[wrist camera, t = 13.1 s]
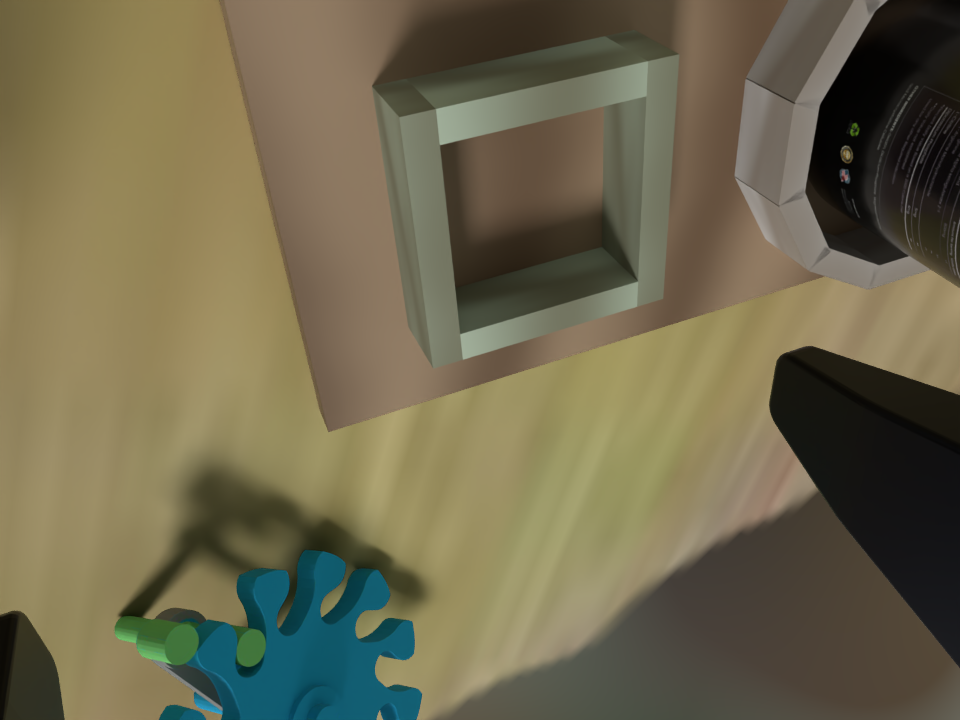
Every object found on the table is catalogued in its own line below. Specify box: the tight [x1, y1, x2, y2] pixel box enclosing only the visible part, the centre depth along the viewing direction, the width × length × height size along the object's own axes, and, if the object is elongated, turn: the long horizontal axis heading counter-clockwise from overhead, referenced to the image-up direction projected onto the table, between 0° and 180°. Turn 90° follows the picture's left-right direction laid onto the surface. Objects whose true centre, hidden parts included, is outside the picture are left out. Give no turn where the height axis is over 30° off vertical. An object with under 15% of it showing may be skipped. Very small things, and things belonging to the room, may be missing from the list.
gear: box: [115, 550, 422, 720], centre depth 28 cm, size 11×6×10 cm
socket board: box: [219, 0, 931, 432], centre depth 24 cm, size 24×12×3 cm, turn 95°
